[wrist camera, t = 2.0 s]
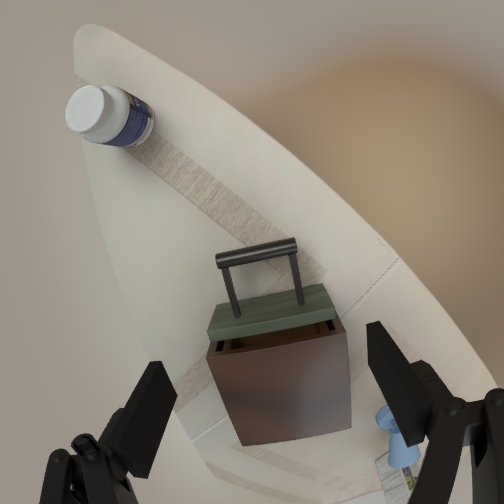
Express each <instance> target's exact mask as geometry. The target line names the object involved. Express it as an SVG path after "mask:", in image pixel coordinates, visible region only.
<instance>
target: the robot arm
mask: <svg viewBox="0 0 504 504" xmlns="http://www.w3.org/2000/svg"><path fill="white" fill-rule="evenodd" d="M366 329H367V349H368V365H369V367H370V369H371V371H372V373H373V375H374V377H375V379H376V381H377V383H378V385H379V387H380V389H381V391H382V393H383V396H384V398H385V400H386V402H387V404H388V406H389V408H390V410H391V412H392V415H393V417H394V419H395V421H396V423H397V426H398V428H399V430H400V432H401V434H402V437H403V439H404V441H405V443H406V446H407V448H409V447H411V446H414V445H416V444H419V443H422V442H423V441H424V438H425V434H426V436H427V438H428V440H429V443H428V446H427V449H426V452H425V456H424V459H423V462H422V465H421V468H420V471H419V474H418V476H417V479H416V482H415V485H414V487H413V490H412V492H411V495H410V497H409V499H408V502H407V504H448V501H449V498H450V495H451V492H452V488H453V485H454V481H455V477H456V474H457V470H458V465H459V461H460V456H461V452H462V447H464V446H469V445H470V452H471V464H472V487H473V504H504V389H501V388H495V389H492V390H490V391H489V392H488V393H487V394H486V396H485V398H484V399H483V400H478V401H474V402H466V401H465V400H463V399H461V398H458V397H454V396H453V395H452V394H451V392H450V391H449V390H448V388H447V387H446V385H445V384H444V383H443V381H442V380H441V379H440V378H439V376H438V375H437V373H436V372H435V371H434V369H433V368H432V367H431V365H430V364H428V363H426V362H425V361H423V360H419V361H417V362H414V363H411V364H410V363H409V362H408V360H407V359H406V358H405V356H404V355H403V353H402V352H401V350H400V349H399V348H398V346H397V345H396V343H395V342H394V340H393V339H392V338H391V336H390V335H389V333H388V332H387V331H386V329H385V328H384V327H383V325H382V324H381V322H380V321H376V322H373V323H369V324H366ZM177 396H178V395H177V393H176V391H175V389H174V387H173V385H172V383H171V381H170V379H169V377H168V375H167V372H166V370H165V368H164V366H163V364H162V361H152V362H149V364H148V366H147V368H146V370H145V371H144V373H143V375H142V377H141V378H140V380H139V382H138V384H137V385H136V387H135V389H134V391H133V393H132V394H131V396H130V398H129V400H128V402H127V403H126V405H125V407H124V408H119V409H118V410H117V411H116V412H115V413H114V414H113V415H112V417H111V419H110V422H108V424H107V427H106V428H105V429H104V431H103V433H102V435H101V436H100V438H99V440H98V442H97V441H96V440H95V438H94V437H93V436H92V435H91V434H86V433H85V434H80V435H79V436H77V437H76V438H74V440H73V441H72V443H71V447H72V448H73V449H74V451H75V452H76V453H77V455H70V454H69V453H68V451H67V450H65V449H57V450H55V451H53V452H52V453H51V455H50V457H49V460H48V463H47V468H46V472H45V477H44V482H43V486H42V492H41V497H40V503H39V504H138V501H137V499H136V496H135V494H134V491H133V489H132V486H131V483H130V481H129V479H128V478H127V476H126V475H127V472H128V471H129V472H130V473H131V474H132V475H133V476H134V477H137V478H145V479H148V476H149V473H150V470H151V467H152V464H153V461H154V459H155V456H156V453H157V450H158V448H159V445H160V442H161V439H162V436H163V433H164V431H165V428H166V425H167V423H168V420H169V417H170V414H171V412H172V409H173V406H174V404H175V401H176V398H177ZM71 486H72V489H70V487H71Z"/></svg>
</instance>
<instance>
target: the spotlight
mask: <svg viewBox="0 0 504 504" xmlns="http://www.w3.org/2000/svg"><path fill="white" fill-rule="evenodd" d="M376 421H377V423H378V425H379V428H380V429H382V430H389V429H391V430H390V443H389V456H388V465H389V466H390V467H392V468H405V467H408V466H410V465H412V464H414V463H415V462H417V461H418V460H419V458H420V456H421V453H420V450H419V447H418V445H417V444H416V445H414V446H411V447H409V448H407V446H406V443H405V441H404V439H403V437H402V434H401V432H400V430H399V428H398V426H397V423H396V421H395V419H394V417H393V415H392V412H391V410H390V408H389V406H388V405H387V406H385V407H383V408H382V409H381V410H380V411H379V412H378V413H377V415H376Z"/></svg>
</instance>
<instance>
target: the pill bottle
mask: <svg viewBox="0 0 504 504" xmlns="http://www.w3.org/2000/svg"><path fill="white" fill-rule="evenodd" d="M65 118H66V123H67V125H68V126H69V128H70V129H71V130H73V131H75V132H79V133H80V135H81V136H82V137H83V138H84V139H85V140H87V141H89V142H92V143H97V144H105V145H111V146H118V147H125V148H131V147H136V146H138V145H140V144H141V143H143V142H144V141H145V140H146V139H147V138H148V136H149V135H150V133H151V132H152V129H153V125H154V114H153V111H152V109H151V108H150V106H149V105H148V104H146V103H145V102H143V101H142V100H140V99H138V98H137V97H135V96H133V95H131V94H130V93H128V92H126V91H124V90H122V89H120V88H119V87H116V86H113V85H102V86H99V87H98V86H95V85H87V86H84V87H82V88H80V89H78V90H77V91H76V92H75V93H74V94H73V95H72V97H71V98H70V100H69V102H68V104H67V107H66V112H65Z"/></svg>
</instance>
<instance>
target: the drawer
mask: <svg viewBox="0 0 504 504" xmlns="http://www.w3.org/2000/svg"><path fill="white" fill-rule="evenodd" d="M295 253H298V250H297V245H296V241H295V238H294V237H292V238H287V239H283V240H278V241H273V242H269V243H264V244H259V245H255V246H250V247H245V248H241V249H236V250H231V251H227V252H222V253H218V254H216V255H215V259H216V264H217V267H218V269H222V274H223V278H224V281H225V285H226V289H227V292H228V296H229V299H230V302H229V303H224V304H219V305H216V307H215V310H214V313H213V316H212V319H211V322H210V324H209V327H208V330H207V333H208V336H209V339H210V342H215V341H222V340H225V342H224V346H223V351H226V350H233V349H239V348H246V347H252V346H257V345H263V344H269V343H274V342H279V341H285V340H290V339H295V338H299V337H304V336H309V335H313V334H318V333H322V332H327V331H329V329H328V327H327V324H326V320H331V319H335V318H336V314H335V307H334V305H333V303H332V301H331V299H330V297H329V295H328V293H327V291H326V290H325V288H324V286H323V284H318V285H313V286H309V287H304V288H302V285H301V280H300V274H299V269H298V264H297V258H296V254H295ZM286 255H289V260H290V265H291V270H292V275H293V280H294V285H295V290H290V291H285V292H280V293H276V294H271V295H266V296H261V297H256V298H250V299H245V300H240V301H237V297H236V293H235V289H234V286H233V282H232V278H231V274H230V271H229V267H234V266H238V265H243V264H248V263H253V262H257V261H262V260H267V259H272V258H276V257H281V256H286Z"/></svg>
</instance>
